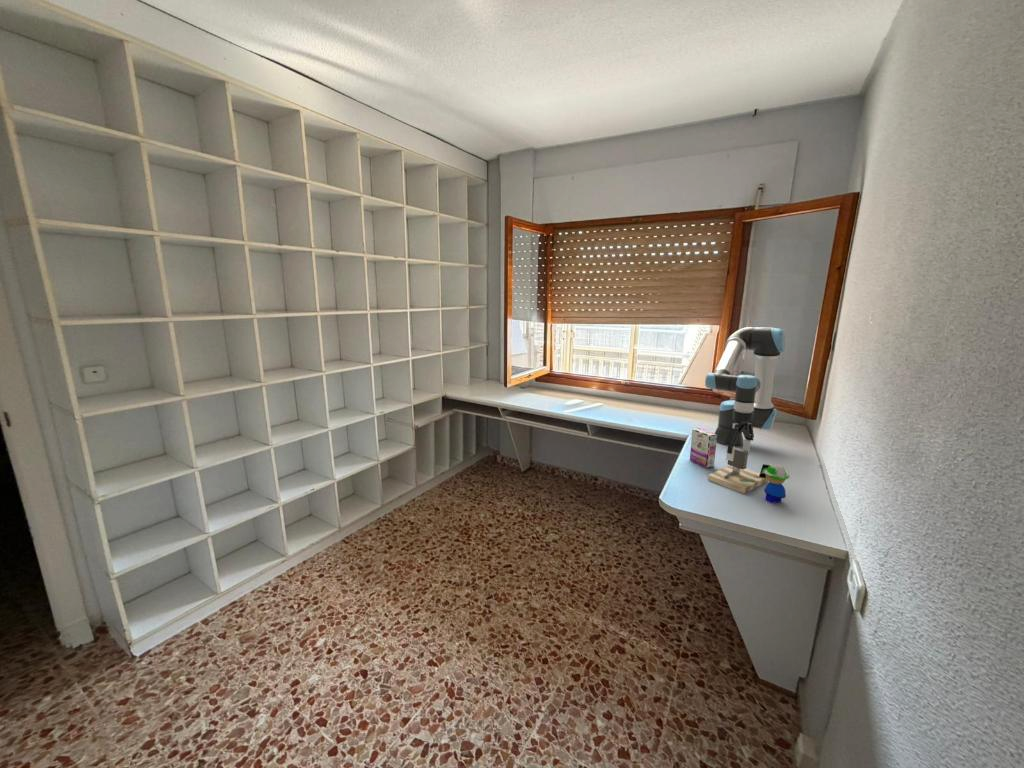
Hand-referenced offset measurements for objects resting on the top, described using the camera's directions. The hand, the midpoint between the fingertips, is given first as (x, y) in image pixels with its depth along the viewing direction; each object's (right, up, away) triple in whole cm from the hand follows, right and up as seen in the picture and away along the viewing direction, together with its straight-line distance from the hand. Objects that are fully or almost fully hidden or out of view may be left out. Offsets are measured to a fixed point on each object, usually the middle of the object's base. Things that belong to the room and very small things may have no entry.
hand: (737, 456), depth 183 cm
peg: (-3, -8, 0) cm, 8 cm away
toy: (+4, -14, -17) cm, 23 cm away
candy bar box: (-7, -7, +19) cm, 21 cm away
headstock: (0, -10, 0) cm, 10 cm away
